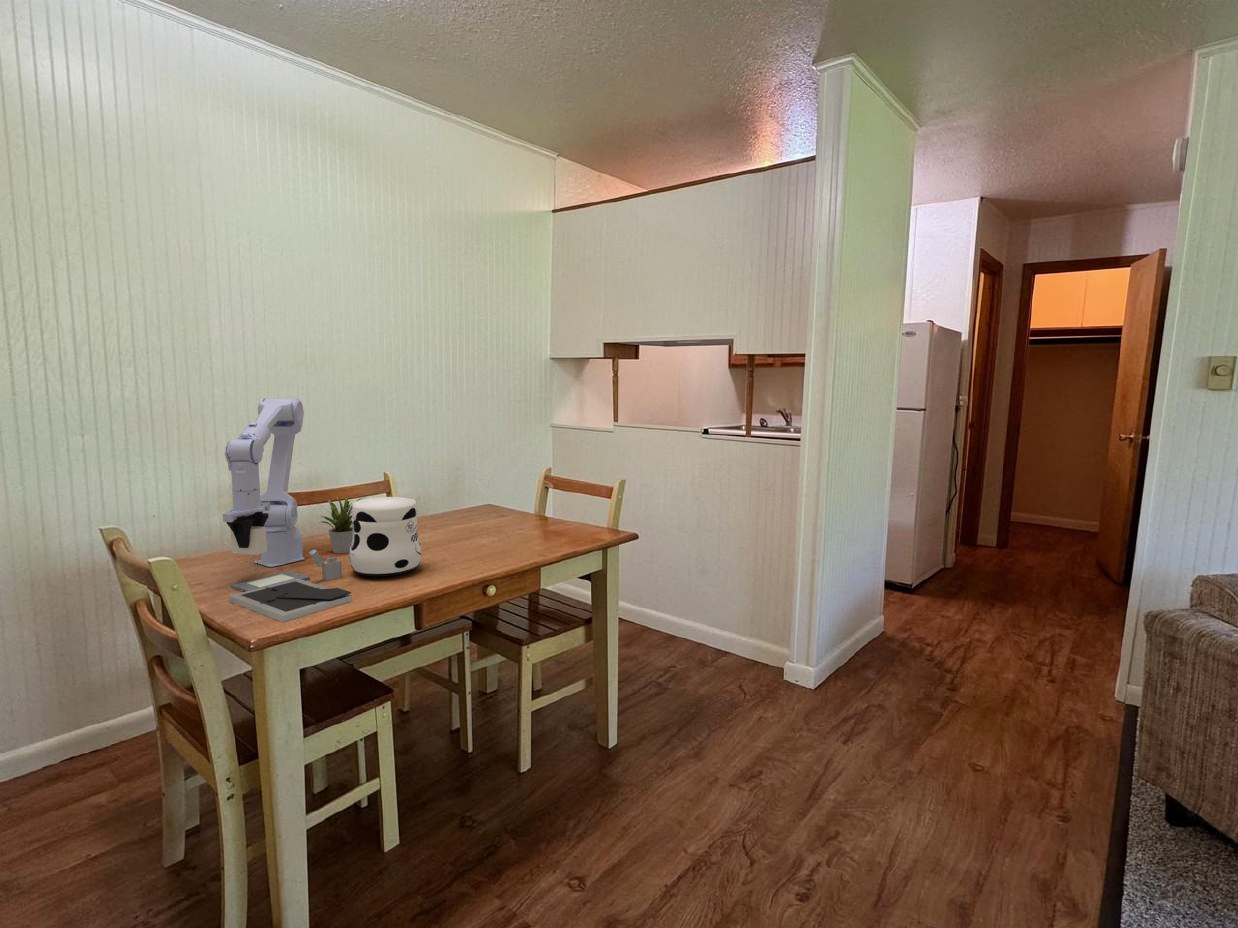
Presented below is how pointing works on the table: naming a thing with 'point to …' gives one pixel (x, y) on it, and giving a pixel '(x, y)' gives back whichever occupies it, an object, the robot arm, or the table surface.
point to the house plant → (340, 526)
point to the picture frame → (291, 599)
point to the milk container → (384, 536)
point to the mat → (268, 581)
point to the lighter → (327, 566)
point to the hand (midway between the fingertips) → (249, 545)
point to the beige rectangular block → (252, 542)
